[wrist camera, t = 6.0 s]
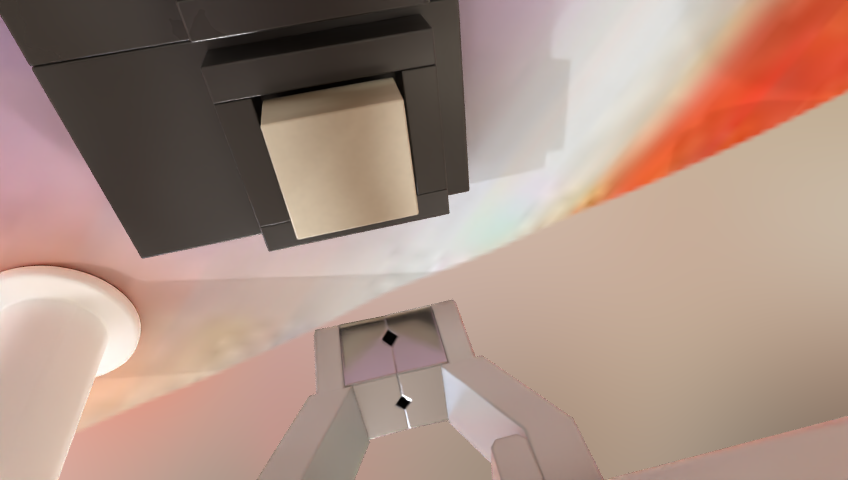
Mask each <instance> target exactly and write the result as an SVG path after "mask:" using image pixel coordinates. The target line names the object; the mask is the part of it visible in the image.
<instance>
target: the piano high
mask: <svg viewBox="0 0 848 480" xmlns="http://www.w3.org/2000/svg"><path fill="white" fill-rule="evenodd" d="M428 3H430V0H0V15H1V17H2V19H3V20H4V22H5V24H6V26H7V27H8V29H9V31H10V32H11V34H12V36H13V38H14V39H15V41H16V43H17V44H18V46H19V48H20V50H21V51H22V53H23V55H24V57H25V58H26V60H27V62H28V63H29V65H30V66H39V65H45V64H51V63H57V62H63V61H69V60H75V59H81V58H87V57H93V56H99V55H105V54H111V53H117V52H123V51H129V50H135V49H141V48H147V47H153V46H159V45H165V44H171V43H177V42H183V41H189V40H190V41H191V42H192V43H196V42H202V41H208V40H214V39H220V38H226V37H232V36H238V35H244V34H250V33H256V32H262V31H268V30H274V29H280V28H286V27H292V26H298V25H304V24H310V23H316V22H322V21H328V20H334V19H340V18H346V17H352V16H358V15H364V14H370V13H376V12H382V11H388V10H394V9H400V8H406V7H412V6H418V5H424V4H428Z"/></svg>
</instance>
